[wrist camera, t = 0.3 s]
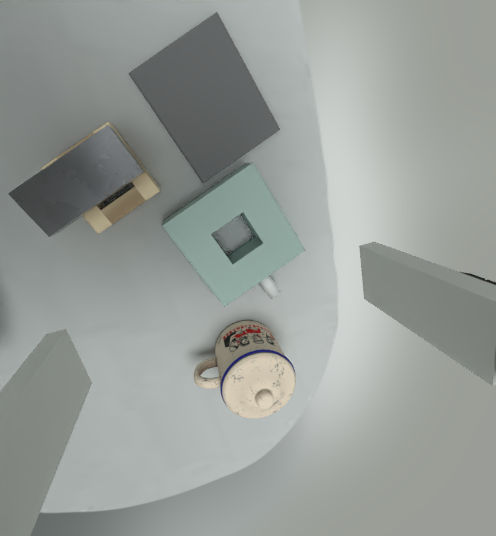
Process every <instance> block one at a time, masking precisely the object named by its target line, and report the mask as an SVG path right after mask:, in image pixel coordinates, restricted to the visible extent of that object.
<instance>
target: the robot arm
mask: <svg viewBox="0 0 496 536" xmlns="http://www.w3.org/2000/svg"><path fill="white" fill-rule="evenodd" d="M360 257H361V268H362V279H363V290H364V299H366V300H367V301H368V302H370V303H371V304H373V305H374V306H376V307H377V308H379V309H380V310H382V311H383V312H385V313H386V314H387V315H389V316H391V317H392V318H393V319H395V320H397V321H398V322H399V323H401V324H402V325H404V326H405V327H407V328H408V329H410V330H411V331H413V332H414V333H416V334H417V335H418V336H420V337H422V338H423V339H424V340H426V341H427V342H429V343H430V344H432V345H433V346H435V347H436V348H438V349H439V350H440V351H442V352H444V353H445V354H447V355H448V356H449V357H451V358H452V359H454V360H455V361H457V362H458V363H460V364H461V365H463V366H464V367H466V368H467V369H468V370H470V371H471V372H473V373H474V374H476V375H477V376H479V377H480V378H482V379H483V380H485V381H486V382H488V383H489V384H490V385H492V386H494V385H496V282H493V281H490V280H485V279H484V278H481V277H478V276H475V275H473V274H469V273H462V272H457V271H455V270H452V269H449V268H446V267H444V266H440V265H438V264H435V263H432V262H429V261H426V260H424V259H421V258H418V257H416V256H412V255H410V254H407V253H404V252H401V251H398V250H396V249H393V248H390V247H387V246H385V245H382V244H379V243H376V242H372V243H369V244H365V245H361V246H360ZM91 384H92V382H91V380H90V378H89V376H88V374H87V372H86V369H85V367H84V365H83V363H82V361H81V359H80V357H79V355H78V353H77V351H76V348H75V346H74V344H73V342H72V340H71V338H70V336H69V334H68V332H67V329H64V330H60V331H57V332H53V333H49V334H46V336H45V337H44V338H43V339H42V341H41V342H40V343H39V344H38V345H37V347H36V348H35V349H34V350H33V352H32V353H31V354H30V355H29V357H28V358H27V359H26V360H25V362H24V363H23V364H22V365H21V367H20V368H19V369H18V370H17V372H16V373H15V374H14V375H13V377H12V378H11V379H10V380H9V382H8V383H7V384H6V385H5V387H4V388H3V389H2V390H1V392H0V536H30V535H31V532H32V530H33V527H34V525H35V522H36V520H37V517H38V515H39V512H40V510H41V508H42V505H43V503H44V500H45V498H46V495H47V493H48V490H49V488H50V485H51V483H52V480H53V478H54V475H55V473H56V470H57V468H58V465H59V463H60V460H61V458H62V456H63V453H64V451H65V448H66V446H67V443H68V441H69V438H70V436H71V433H72V431H73V428H74V426H75V423H76V421H77V418H78V416H79V413H80V411H81V408H82V406H83V403H84V401H85V399H86V396H87V394H88V391H89V389H90V386H91Z"/></svg>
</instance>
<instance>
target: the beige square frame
mask: <svg viewBox="0 0 496 536" xmlns="http://www.w3.org/2000/svg"><path fill="white" fill-rule="evenodd" d="M107 125H109V126H110V127H112V128H113V129H114V131H115V132H116V133H117V135H118V136H119V137H120V139H121V140H122V141H123V143H124V144H125V145H126V147H127V148H128V149H129V151H130V152H131V153H132V155H133V156H134V157H135V159H136V160H137V161H138V163H139V164H140V165H141V167H142V168H143V170H144V171H145V172H144V173H143V174H142V175H140V176H139V177H137V178H136V179H134V180H133V181H132V183H133V185H134V186H135V187H133V188H132V189H131V190H129V191H128V192H126V193H125V194H123V195H122V196H120V197H119V198H118V199H116V200H115V201H113V202H112V203H110V204H109V205H108V206H105V205H104V204H103V202H101V203H100V204H98V205H97V206H96V207H94V208H93V209H91V210H90V211H88V212H87V213H86V214H84V215H83V217H84V218H85V219H86V220H87V222H88V223H89V224H90V225H91V226H92V227H93V228H94V230H95V231H96V232H97V233H98V234H99V233H101V232H102V231H104V230H105V229H106V228H108V227H109V226H111V225H112V224H114V223H115V222H116V221H118V220H119V219H121V218H122V217H124V216H125V215H127V214H128V213H129V212H131V211H132V210H134V209H135V208H137V207H138V206H139V205H141V204H142V203H144V202H145V201H147V200H148V199H149V198H151V197H152V196H154V195H155V194H157V193H158V192H160V191H161V189H160V188H159V186H158V185H157V184H156V182H155V181H154V179H153V178H152V177H151V175H150V174H149V173H148V171H147V170H146V169H145V167H144V166H143V165H142V163H141V162H140V161H139V159H138V158H137V156H136V155H135V154H134V152H133V151H132V150H131V148H130V147H129V146H128V144H127V143H126V142H125V140H124V139H123V138H122V136H121V135H120V134H119V132H118V131H117V129H116V128H115V127H114V126H113V125H112V124H111V123H109V122H107V123H105V124H104V125H102V126H101V127H99V128H98V129H97V130H95V131H94V132H92V133H91V134H89V135H88V136H86V137H85V138H84V139H82V140H81V141H79V142H78V143H76V144H75V145H73V146H72V147H71V148H69V149H68V150H66V151H65V152H63V153H62V154H60V155H59V156H58V157H56V158H55V159H53V160H52V161H50V162H49V163H48V164H46V165H45V166H43V167H42V168H41V169H42V170H43V169H45V168H46V167H47V166H49V165H50V164H52V163H53V162H55V161H56V160H57V159H59V158H60V157H62V156H63V155H65V154H66V153H68V152H69V151H70V150H72V149H73V148H75V147H76V146H78V145H79V144H81V143H82V142H83V141H85V140H86V139H88V138H89V137H91V136H92V135H94V134H95V133H96V132H98V131H99V130H101V129H102V128H104V127H105V126H107Z"/></svg>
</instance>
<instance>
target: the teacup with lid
mask: <svg viewBox="0 0 496 536" xmlns="http://www.w3.org/2000/svg"><path fill="white" fill-rule="evenodd" d="M215 356H216V358H211V359H207V360H204V361H203V362H201V363H200V364H199V365H198V366H197V367H196V369H195V371H194V381H195V383H196V384H197V385H198V386H199V387H202V388H217V387H221V396H222V399H223V401H224V403H225V404H226V405H227V407H228V408H229V409H230V410H231V411H232V412H234V413H235V414H237V415H239V416H242V417H245V418H262V417H266V416H269V415H271V414H273V413H275V412H277V411H278V410H280V409H281V408H282V407H283V406H284V405H285V404H286V403H287V402H288V401H289V399H290V398H291V396H292V394H293V391H294V388H295V382H296V377H295V370H294V367H293V365H292V363H291V362H290V361H289V360H288V358H286V357H285V355H284V354H283V352H282V350H281V349H280V347H279V345H278V343H277V342H276V340H275V338H274V337H273V335H272V333H271V332H270V330H269V329H268V328H267V327H266V326H264V325H263V324H261V323H259V322H256V321H240V322H237V323H234V324H232V325H231V326H229V327H228V328H226V329H225V330H224V331H223V332H222V333H221V335H220V336H219V338H218V340H217V343H216V346H215ZM212 367H218V370H219V375H220V377H215V378H203V377H201V376H200V375H201V374H202V372H204V371H205V370H206V369H209V368H212Z"/></svg>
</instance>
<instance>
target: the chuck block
mask: <svg viewBox="0 0 496 536" xmlns="http://www.w3.org/2000/svg"><path fill="white" fill-rule="evenodd" d="M240 214H241V215H242V217H243V218H244V220H245V221H246V223H247V225H248V226H249V228H250V229H251V231H252V232H253V234H254V235H255V237H254V238H253V239H252V240H250V241H249V242H247V243H246V244H244V245H243V246H242V247H240V248H239V249H237V250H236V251H234V252H233V253H232V254H230V255H229V256H227V255H226V253H225V252H224V250H223V249H222V248H221V246H220V245H219V243H218V242H217V241H216V239H215V238H214V236H213V235H212V233H214V232H215V231H217V230H218V229H220V228H221V227H222V226H224V225H225V224H227V223H228V222H230V221H231V220H232V219H234V218H235V217H237V216H238V215H240ZM162 227H163V229H164V230H165V231H166V232H167V234H168V235H169V236H170V238H171V239H172V240H173V241H174V243H175V244H176V245H177V247H178V248H179V249H180V250H181V252H182V253H183V254H184V256H185V257H186V258H187V259H188V261H189V262H190V263H191V265H192V266H193V267H194V268H195V270H196V271H197V272H198V274H199V275H200V276H201V277H202V279H203V280H204V281H205V283H206V284H207V285H208V286H209V288H210V289H211V290H212V292H213V293H214V294H215V295H216V297H217V298H218V299H219V301H220V302H221V303H222V304H223V306H224V307H225V306H226V305H228V304H229V303H231V302H232V301H233V300H235V299H236V298H238V297H239V296H240V295H242V294H243V293H245V292H246V291H248V290H249V289H250V288H252V287H253V286H255V285H256V284H258V283H260V284H261V286H262V287H263V288H264V290H265V291H266V293H267V294H268V296H269V297H270V298H275V297H277V296H278V295H279V294H280V290H279V289H278V287H277V286H276V284H275V283H274V281H273V280H272V278H271V277H270V274H272V273H273V272H275V271H276V270H277V269H279V268H280V267H282V266H283V265H285V264H286V263H287V262H289V261H290V260H292V259H293V258H295V257H296V256H297V255H299V254H300V253H302V252H303V251H305V249H304V248H303V246H302V244H301V242H300V241H299V239H298V237H297V236H296V234H295V232H294V231H293V229H292V227H291V226H290V224H289V222H288V221H287V219H286V217H285V216H284V214H283V212H282V211H281V209H280V207H279V206H278V204H277V202H276V200H275V199H274V197H273V195H272V194H271V192H270V190H269V189H268V187H267V185H266V184H265V182H264V180H263V179H262V177H261V175H260V174H259V172H258V170H257V169H256V167H255V165H254V164H253V163H247V164H244V165H243V166H242V167H240V168H239V169H237V170H236V171H234V172H233V173H231V174H230V175H229V176H227V177H226V178H224V179H223V180H221V181H220V182H219V183H217V184H216V185H214V186H213V187H211V188H210V189H209V190H207V191H206V192H204V193H203V194H201V195H200V196H199V197H197V198H196V199H194V200H193V201H191V202H190V203H189V204H187V205H186V206H184V207H183V208H181V209H180V210H178V211H177V212H176V213H174V214H173V215H171V216H170V217H168V218H167V219H166V220H164V221H163V224H162Z"/></svg>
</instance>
